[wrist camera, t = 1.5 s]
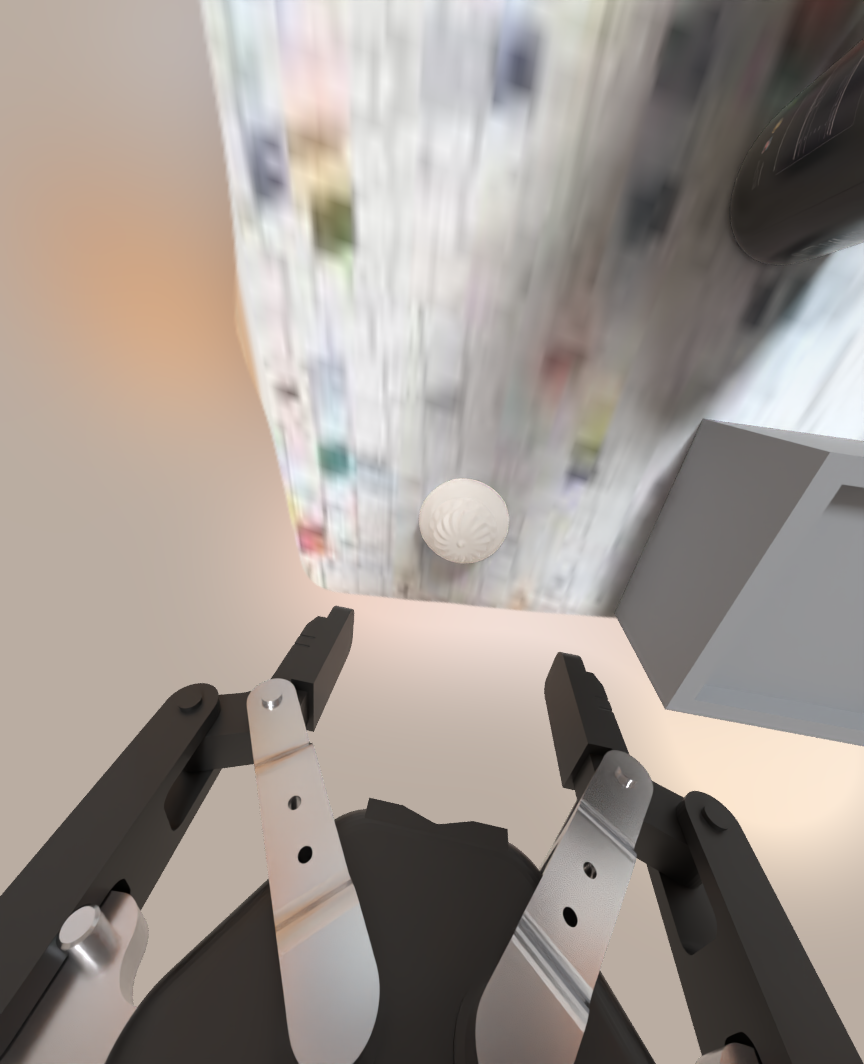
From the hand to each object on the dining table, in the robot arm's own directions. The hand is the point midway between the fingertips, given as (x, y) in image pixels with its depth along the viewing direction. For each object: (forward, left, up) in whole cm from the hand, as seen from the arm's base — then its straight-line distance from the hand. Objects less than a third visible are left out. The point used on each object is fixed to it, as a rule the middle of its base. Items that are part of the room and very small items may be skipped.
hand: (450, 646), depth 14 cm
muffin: (0, 0, -15) cm, 15 cm away
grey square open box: (-1, +22, -15) cm, 27 cm away
